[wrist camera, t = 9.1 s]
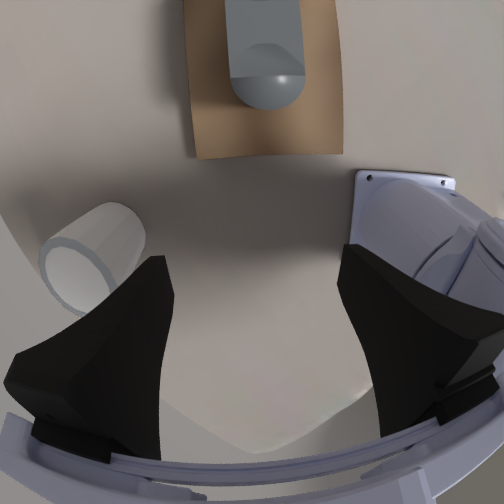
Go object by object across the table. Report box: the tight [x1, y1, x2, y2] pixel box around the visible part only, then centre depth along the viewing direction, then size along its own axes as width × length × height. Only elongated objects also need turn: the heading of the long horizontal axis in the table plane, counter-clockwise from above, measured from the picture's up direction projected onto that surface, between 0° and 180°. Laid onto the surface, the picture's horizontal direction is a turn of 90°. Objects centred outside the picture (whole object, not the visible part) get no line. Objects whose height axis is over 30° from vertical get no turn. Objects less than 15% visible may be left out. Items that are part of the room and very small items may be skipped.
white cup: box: [39, 202, 146, 317], centre depth 18 cm, size 7×7×7 cm
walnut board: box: [183, 0, 343, 160], centre depth 13 cm, size 10×16×1 cm, turn 4°
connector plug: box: [225, 0, 305, 110], centre depth 10 cm, size 4×11×4 cm, turn 4°
